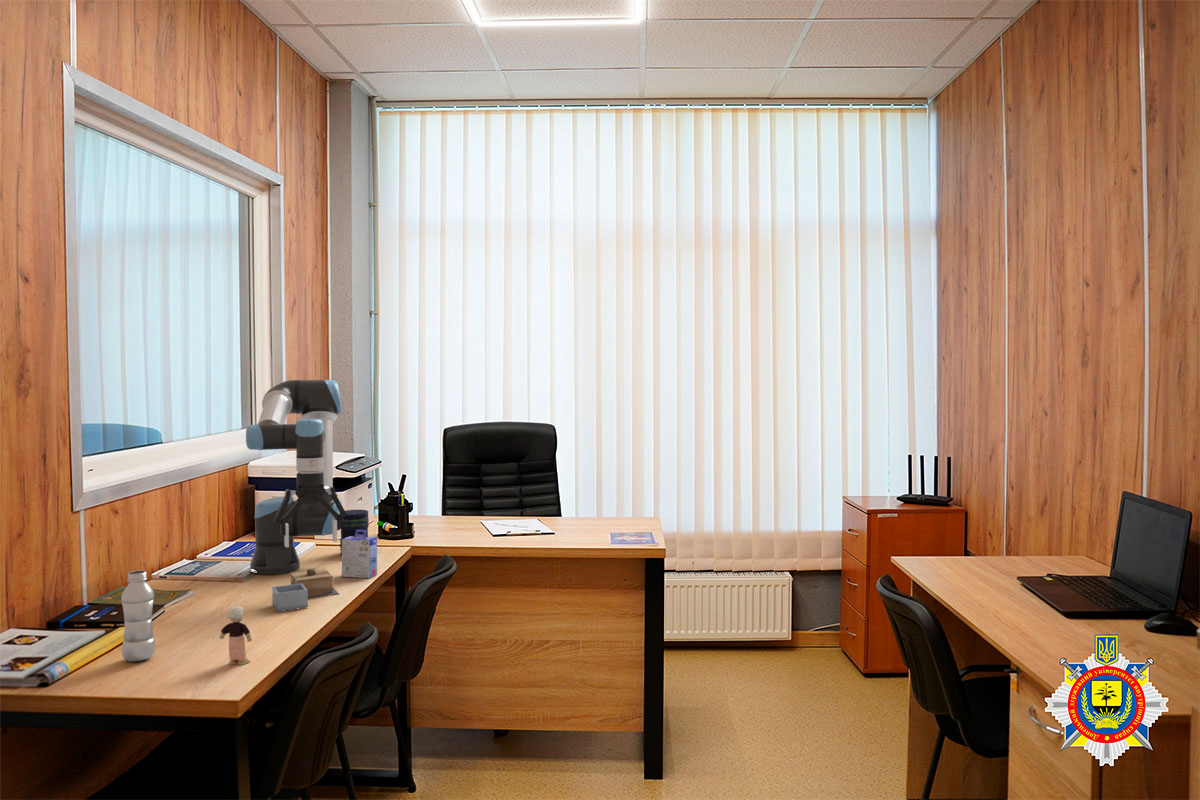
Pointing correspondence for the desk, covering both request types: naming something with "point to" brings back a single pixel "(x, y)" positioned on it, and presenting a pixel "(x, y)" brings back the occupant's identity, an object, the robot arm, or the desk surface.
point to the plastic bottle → (138, 618)
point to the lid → (314, 581)
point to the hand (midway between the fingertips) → (311, 544)
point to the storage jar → (353, 524)
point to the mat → (326, 594)
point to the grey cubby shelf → (289, 597)
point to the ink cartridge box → (359, 556)
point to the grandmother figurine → (236, 637)
